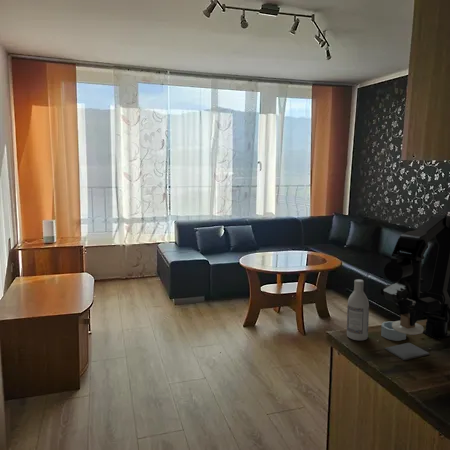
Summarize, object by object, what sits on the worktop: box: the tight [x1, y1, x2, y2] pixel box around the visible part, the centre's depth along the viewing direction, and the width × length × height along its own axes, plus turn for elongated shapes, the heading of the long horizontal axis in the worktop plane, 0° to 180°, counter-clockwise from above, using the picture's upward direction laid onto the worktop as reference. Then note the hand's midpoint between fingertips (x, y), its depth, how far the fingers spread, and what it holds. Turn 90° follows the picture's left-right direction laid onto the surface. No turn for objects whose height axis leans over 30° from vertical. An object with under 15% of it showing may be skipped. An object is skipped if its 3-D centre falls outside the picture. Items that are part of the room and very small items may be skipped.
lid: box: [392, 312, 425, 336], centre depth 125 cm, size 9×9×4 cm
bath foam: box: [346, 278, 370, 342], centre depth 137 cm, size 7×7×20 cm
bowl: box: [380, 320, 407, 342], centre depth 138 cm, size 8×8×4 cm
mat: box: [384, 342, 430, 361], centre depth 127 cm, size 10×8×1 cm
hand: (407, 323), depth 125 cm, fingers closed on lid, 3 cm apart
